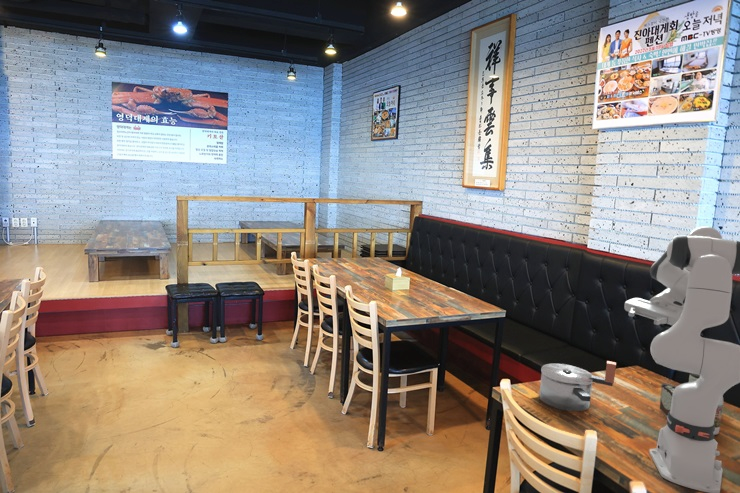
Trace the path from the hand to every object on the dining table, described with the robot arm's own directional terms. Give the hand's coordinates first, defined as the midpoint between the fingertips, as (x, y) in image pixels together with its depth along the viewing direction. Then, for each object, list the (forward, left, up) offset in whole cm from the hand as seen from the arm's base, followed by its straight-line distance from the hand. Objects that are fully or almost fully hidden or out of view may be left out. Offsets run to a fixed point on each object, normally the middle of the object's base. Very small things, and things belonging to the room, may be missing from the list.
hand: (642, 318), depth 183 cm
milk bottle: (-7, -23, -34) cm, 42 cm away
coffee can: (+13, -24, -34) cm, 44 cm away
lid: (-11, +20, -24) cm, 33 cm away
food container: (0, -14, -34) cm, 37 cm away
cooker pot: (-13, +22, -34) cm, 43 cm away
